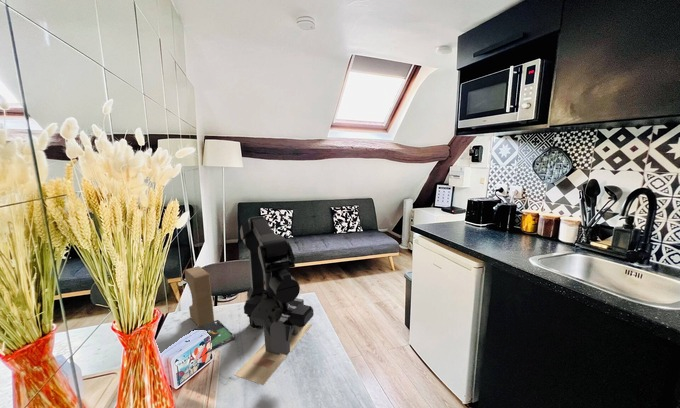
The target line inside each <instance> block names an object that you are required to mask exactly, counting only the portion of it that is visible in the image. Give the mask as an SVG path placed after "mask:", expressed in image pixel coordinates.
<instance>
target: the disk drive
mask: <svg viewBox="0 0 680 408" xmlns="http://www.w3.org/2000/svg"><path fill="white" fill-rule="evenodd" d="M194 330H206V331H207V333H208V334H209V335H210V336H211V343H212V350H211V351H213V350H215V349H217V348H219V347H221V346H223V345H225V344H227V343H230V342H231V341H234V340H235V339H236V338H235V337H234V334H233V333H232V332H231V331H230V330H229V329H228V328H227V327H226V326H225V325H224V324H223V323H222V322H221V321H220V320H219V319H217V320H214V321H213V322H211V323H209V324H206V325H203V326H202V327H201V328H199V327H198V328H193V329H191V330H189V331H188V332H189V333H190V332H191V331H194ZM189 333H188V334H189Z"/></svg>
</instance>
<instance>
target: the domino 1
mask: <svg viewBox="0 0 680 408" xmlns="http://www.w3.org/2000/svg"><path fill="white" fill-rule="evenodd" d="M263 333H264V335H263V336H264V344H265V349H266V352H270V353H274V354H277V355H280V353H277V352H274V351H271V337H270V335H269V333H268V331H267V329H266V328H265V327H264V328H263Z"/></svg>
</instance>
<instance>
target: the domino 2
mask: <svg viewBox="0 0 680 408" xmlns="http://www.w3.org/2000/svg"><path fill="white" fill-rule="evenodd" d="M286 320H287V318H283V317H281V318H280V319H279V321H278V322H277V323H272V325H271V326H270V337H271V351H274V352H277V353H281V354H284V355H287V356H288V355H289V354H290V353H291V352H290V341H287V340H286V328H285V325H283V323H284V322H285V321H286ZM289 352H290V353H289ZM288 353H289V354H288Z"/></svg>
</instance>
